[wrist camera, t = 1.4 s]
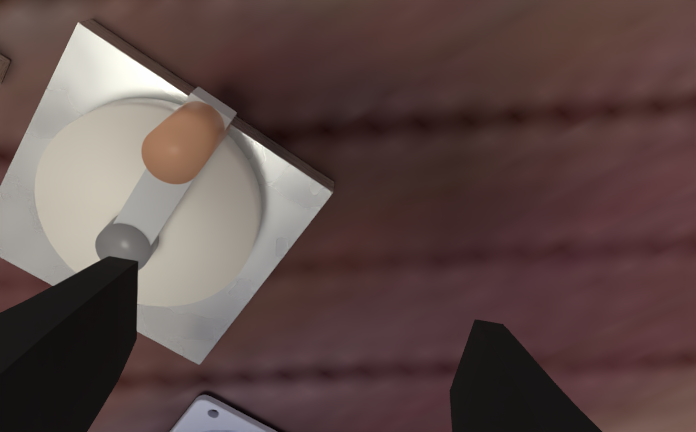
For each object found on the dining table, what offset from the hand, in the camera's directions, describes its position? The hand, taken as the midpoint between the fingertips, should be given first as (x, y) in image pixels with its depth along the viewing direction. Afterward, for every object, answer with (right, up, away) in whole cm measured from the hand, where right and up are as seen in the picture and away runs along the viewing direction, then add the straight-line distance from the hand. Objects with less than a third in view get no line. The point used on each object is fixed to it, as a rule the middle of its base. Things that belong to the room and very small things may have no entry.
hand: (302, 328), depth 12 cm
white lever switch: (-6, +3, +8) cm, 11 cm away
